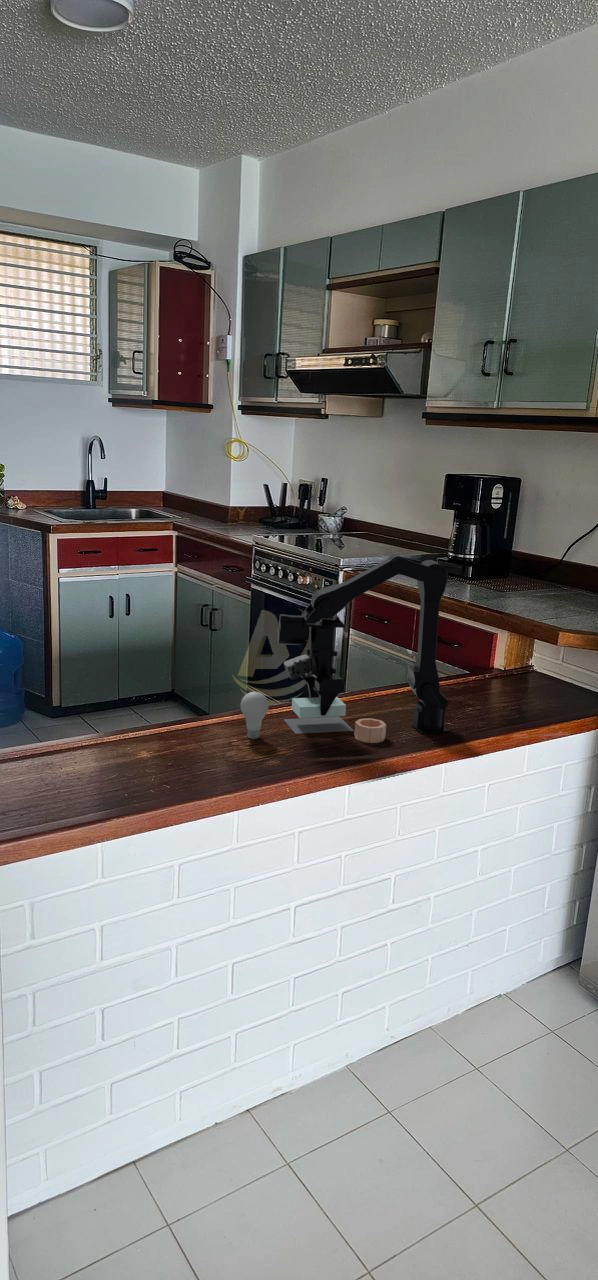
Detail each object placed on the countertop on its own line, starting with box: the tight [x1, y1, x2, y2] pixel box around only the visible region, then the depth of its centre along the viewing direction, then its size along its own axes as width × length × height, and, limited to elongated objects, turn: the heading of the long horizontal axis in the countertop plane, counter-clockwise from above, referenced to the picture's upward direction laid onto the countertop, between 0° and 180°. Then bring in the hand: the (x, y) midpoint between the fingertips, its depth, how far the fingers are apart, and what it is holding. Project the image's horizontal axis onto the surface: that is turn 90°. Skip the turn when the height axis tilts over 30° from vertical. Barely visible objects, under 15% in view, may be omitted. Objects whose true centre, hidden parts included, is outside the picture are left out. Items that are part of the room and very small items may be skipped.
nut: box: [353, 718, 387, 744], centre depth 196 cm, size 7×7×4 cm
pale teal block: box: [291, 696, 347, 719], centre depth 202 cm, size 11×7×3 cm, turn 106°
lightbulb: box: [240, 691, 270, 740], centre depth 191 cm, size 6×6×11 cm
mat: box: [283, 716, 355, 735], centre depth 203 cm, size 14×10×1 cm
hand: (318, 710), depth 202 cm, fingers closed on pale teal block, 7 cm apart
